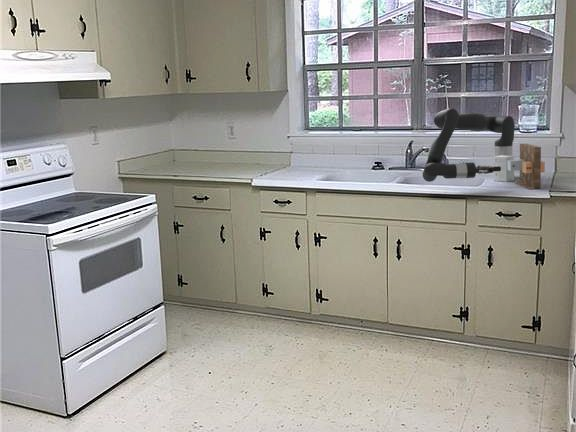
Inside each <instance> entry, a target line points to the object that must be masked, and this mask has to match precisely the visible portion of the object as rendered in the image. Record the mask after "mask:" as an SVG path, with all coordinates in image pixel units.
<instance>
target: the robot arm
mask: <svg viewBox="0 0 576 432" xmlns="http://www.w3.org/2000/svg"><path fill="white" fill-rule="evenodd" d="M433 123H434V125H435V127H437V128H439V129H440V133H439V134H438V136H437V137H436V139H434V141H433V143H432V144H431V147H430V150H429V152H428V156H427V160H426V163H425V166H424V168H423V171H422V179H423V180H424V181H426V182H427V183H431V182H434V181H435V180H436V179H437V177H443V179H445V180H446V179H447V180H448V179H450V180H451V179H473V178H475V177H476V175H477V174H478V175H483V174H484V175H487V174H490V173H491V174H492V173H494V171H501V167H500V166H496V167H494V166H491V165H481V164H479V165H477V166H476V163H475V162H471V161H470V162H458V163H449V164H446V163H442V161H443V158H444V155H445V152H446V149H447V146H448V144H449V141H450V139H451V137H452V135H453V134H454V132H455V130H462V131H464V130H465V131H473V132H483V131H489V132H493V133H495V134H496V133H497V134H501V136H500V138H498V139H496V140H495V141H494V156H501V155H504V156H513V143H514V139H515V129H516V128H515V120H514V118H513V116H511V115H495V116H494V115H493V116H488V115H485V114H483V113H478V112H465V113H459V112H458V110H456V109H455V108H446V109H443V110H441V111H439V112H437V113H435V115H434V117H433Z"/></svg>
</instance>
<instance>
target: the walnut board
mask: <svg viewBox="0 0 576 432" xmlns="http://www.w3.org/2000/svg"><path fill="white" fill-rule="evenodd" d="M541 157H542V147H541V146H538V145H532V144H529V143H520V144H519V159H524V160H525V162H530V161H531V162H533V173H523V172H522V170H521V171H519V181H514V184H516V185H517V186H521V187H523V188H525V189H527V190H540V189H541V175H542V174H541V173H542V172H541V161H542V158H541Z"/></svg>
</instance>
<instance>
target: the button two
mask: <svg viewBox="0 0 576 432" xmlns="http://www.w3.org/2000/svg"><path fill="white" fill-rule="evenodd" d="M545 164H546V162H545V161H543V160H541V173H545V172H546V169H545V168H546V165H545ZM522 172H523V173H533V162H531V161H530V162H522Z"/></svg>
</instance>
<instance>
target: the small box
mask: <svg viewBox="0 0 576 432" xmlns="http://www.w3.org/2000/svg"><path fill="white" fill-rule="evenodd" d="M493 159H494V165H493V167H496V166H500V167H501V171H494V172H493V175H494V176H493V177H494V179H493V180H494V182H505V183H508V182H513V181H515V171H509V170H507V160H515V156H514V155H512V156H504V155H501V156H495V155H494V158H493Z"/></svg>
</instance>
